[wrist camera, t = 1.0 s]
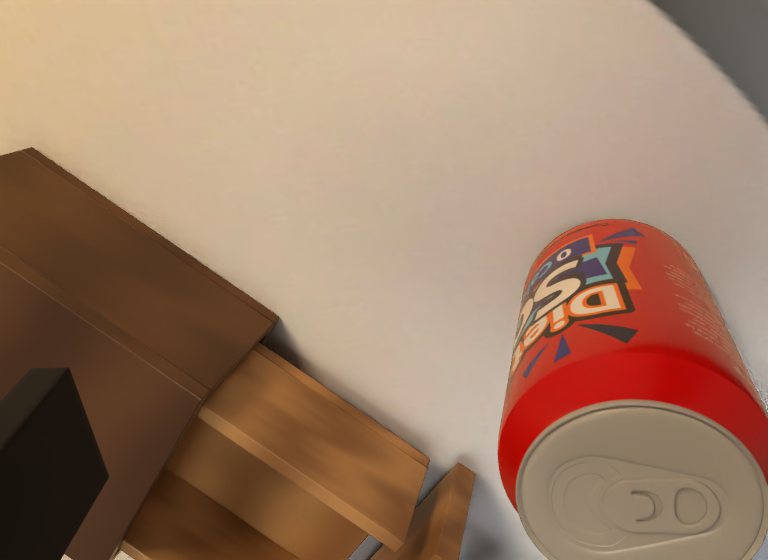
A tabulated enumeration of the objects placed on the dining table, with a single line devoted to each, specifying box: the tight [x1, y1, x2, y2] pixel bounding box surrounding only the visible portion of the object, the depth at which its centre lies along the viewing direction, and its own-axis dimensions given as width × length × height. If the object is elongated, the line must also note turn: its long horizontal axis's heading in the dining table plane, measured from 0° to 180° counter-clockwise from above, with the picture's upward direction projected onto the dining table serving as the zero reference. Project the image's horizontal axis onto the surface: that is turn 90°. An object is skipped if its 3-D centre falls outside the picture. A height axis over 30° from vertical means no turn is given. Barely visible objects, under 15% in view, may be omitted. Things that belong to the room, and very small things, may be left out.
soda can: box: [498, 219, 768, 560], centre depth 24 cm, size 8×8×15 cm
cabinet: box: [0, 148, 279, 560], centre depth 36 cm, size 17×15×9 cm
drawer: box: [119, 343, 476, 560], centre depth 36 cm, size 20×13×7 cm
